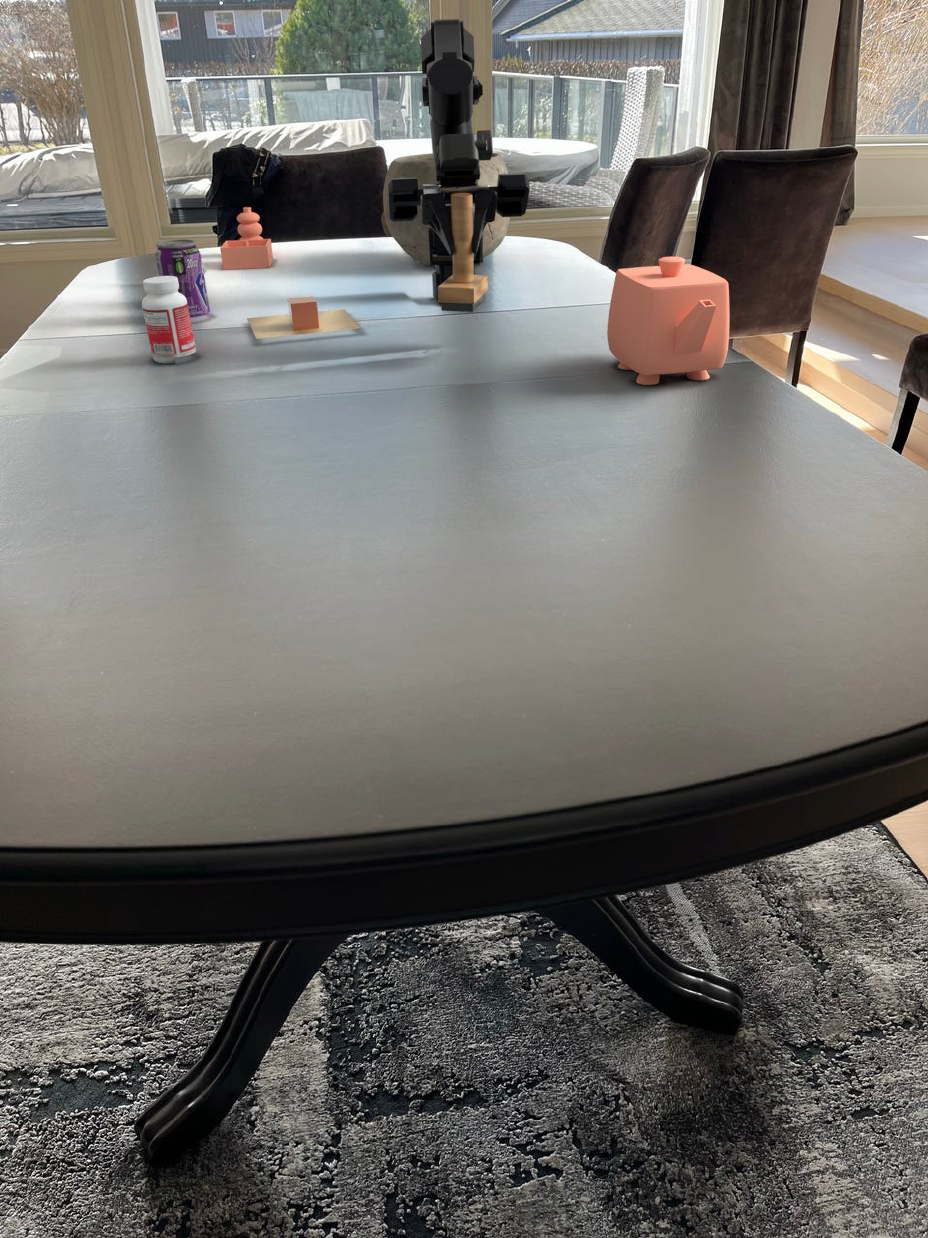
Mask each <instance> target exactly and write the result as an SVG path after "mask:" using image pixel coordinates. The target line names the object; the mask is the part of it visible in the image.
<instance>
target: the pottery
mask: <svg viewBox="0 0 928 1238" xmlns="http://www.w3.org/2000/svg"><path fill="white" fill-rule="evenodd" d="M242 210H243V211H242V212H240V213H239V214H238V215H237V216H236V220H237V222H238V223H239V224H238V226H237V233H238V235H240V236H241V237H240V238H239V239H237V240H225V242H223V244H222V245H221V246H220V255H221V263H222V268H223V269H222V270H224V271H225V270H226V271H227V270H246V269H247V270H249V269H266V268H267V269H268V268H269V269H270V268H271V265H272V264H273V262H274V253H273V246H272V245H273V244H272V239H271V238H264V237H262V236H260V235H261V234H262V232H263V227H262V225H261V224H260V223H259V222H260V218H261V217H260V215H259V214H258V213H257V212H253V211H252V207H250V206H245V207H243V208H242Z"/></svg>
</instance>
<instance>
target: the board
mask: <svg viewBox="0 0 928 1238" xmlns="http://www.w3.org/2000/svg"><path fill="white" fill-rule="evenodd" d="M318 318H319V328H316V329H306V330H296V331H294V330H293V328H292V327H291V325H290V318H289V313H288V314H287V313H286V314H277V315H266V316H254V317H247V321H248V323H249V326H250V328H251V330H252V334H253V335H254V337H255V339H256V340H259V339H268V338H280V337H289V336H299V335H307V334H308V335H309V334H320V333H329V332H338V331H350V330H359V329H361V327H360V325H359V324H358V323H357V322H356V321H355V319H354V318H353V316H351V315H350V313H349V312H348V311H347V309H345V308H341V309H340V308H339V309H329V310H320V311H319V310H318Z"/></svg>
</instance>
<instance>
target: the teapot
mask: <svg viewBox="0 0 928 1238" xmlns="http://www.w3.org/2000/svg"><path fill="white" fill-rule="evenodd" d="M729 288H730V287H729V282H728V281H727V280H726V279H725V278H724V277H721V276H720V275H718V274H716V273H714V272H711V271H710V270H707V269H705V268H701V267H699V266H696V265H693V264H689V263H686V258H684V257H680V256H663V257H660V258H659V259H658V265H653V266H652V265H651V266H638V267H637V266H636V267H628V268H618V269H617V270H616V272H615V277H614V281H613V287H612V290H611V291H612V292H611V297H610V303H609V304H610V305H609V310H608V318H607V330H606V331H607V332H606V337H607V345H608V350H609V352H610V353H611V354H612V355H613V356H614V357H615V358H616V359H617V360H618V361H619V362H620V363H619V364H618V365H617V368H618V369H621V370H625V371H634V372H635V373H637V374H638V375H637V378H636V383H637V384H638V385H639V384H640V385H645V386H650V385H651V386H652V385H657V384H659V383H660V376H661V375H667V374H679V373H680V374H681V373H686V377H687V379H690V380H695V381H704V380H709V379H710V378H711V376H710V375H709V372H708V371H711V370H718V369H722V368H723V367H724V364H725V361H726V359H727V355H728V351H729V341H730V289H729Z"/></svg>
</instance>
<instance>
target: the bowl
mask: <svg viewBox="0 0 928 1238" xmlns="http://www.w3.org/2000/svg"><path fill="white" fill-rule="evenodd" d="M479 165H480V180H478V185H488V186H489V187H495V186H497V182H498V175H499V174H509V171H508V168H507V165H506V163H505V160H504V158H503V156H502V155H501V154H500V153H497V152H493V154H492V158H491V160H481V161H479ZM385 175H386V176H385V180H384V183H383V190H382V203H383V204H382V205H383V212H382V214H381V218H380V219H381V224H382V229H383V232H384V234H385V235H386V236H387V237H392V238H393V239H394V241H395V242H396V243H397V244H398V245H399V247H400V248H401V249H402V251H403V252H404V253H405V254H407V255H408V256H409V257H410V258H411V259H412V260H413V261H416V262H419V263H420V264H423V265H424V266H428V267H431V266H430V252H429V227H431V226H430V225H424V224H423V223H422V209H421V205H417V211H418V216H417V217H416V218H415V219H414V220H413V221H400V222H393V221H392V220H390V217H389V203H388V182H389V181H390V180H391V178H411V177H417V180H418V189H417V190H419V189H422V185H423V184H436V183H435V172H434V161H433V152H432V153H420V154H412V155H411V154H410V155H406V156H400V157H397V158H394V159H393V160H392V161H391V162H390V164H389V167H388V168H387V172H386V174H385ZM474 208H475V206H474V205H473V212H474ZM510 219H511V217H502V216H500V215H499V214H498V213H496V215H495V220H494V221H493V222H489V223H487V225H486V227H485V229H484V231H483V233H482V234H483V259H484V258H487V257H488V256H490V255H491V254H493V253H494V252H495V251H496V249H497V248H499V246H500V245H501V244H502V243H503V241H504V240H505V237H506V235H507V231H508V228H509V223H510V221H511V220H510ZM473 255H475V254H473ZM433 257H442V256H437V254H434V255H433ZM432 267H433V268H435V265H433V266H432Z"/></svg>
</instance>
